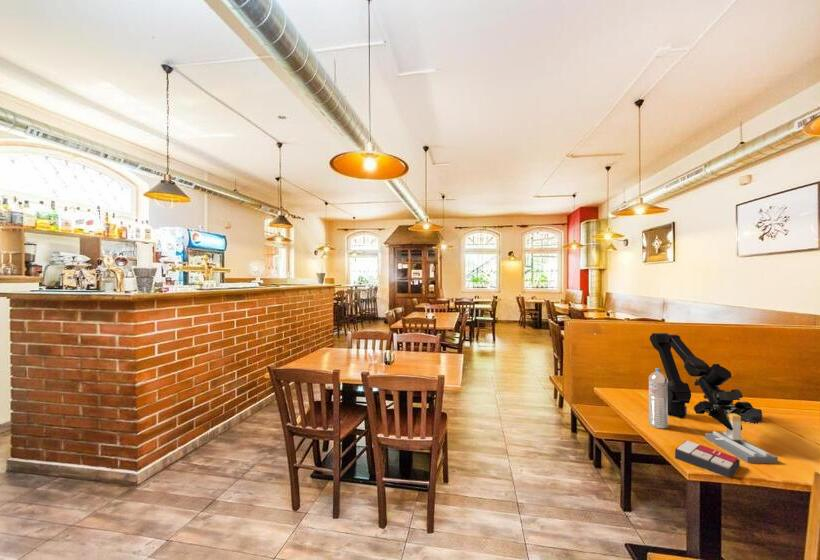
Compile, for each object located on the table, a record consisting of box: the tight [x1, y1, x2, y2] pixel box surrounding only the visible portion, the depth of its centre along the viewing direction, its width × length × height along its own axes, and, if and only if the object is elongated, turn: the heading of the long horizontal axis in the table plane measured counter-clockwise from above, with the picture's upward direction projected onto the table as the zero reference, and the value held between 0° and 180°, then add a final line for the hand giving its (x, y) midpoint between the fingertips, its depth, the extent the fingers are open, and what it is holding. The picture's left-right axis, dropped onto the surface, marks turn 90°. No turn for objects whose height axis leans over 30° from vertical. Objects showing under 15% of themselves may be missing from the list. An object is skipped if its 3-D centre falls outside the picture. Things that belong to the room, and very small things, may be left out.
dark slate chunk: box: [701, 399, 763, 425], centre depth 161 cm, size 15×22×5 cm
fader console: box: [704, 430, 779, 464], centre depth 127 cm, size 18×10×3 cm, turn 177°
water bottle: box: [648, 367, 669, 430], centre depth 148 cm, size 7×7×25 cm
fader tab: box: [726, 413, 742, 443], centre depth 130 cm, size 3×3×10 cm
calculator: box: [674, 440, 741, 478], centre depth 119 cm, size 11×4×15 cm
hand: (736, 429), depth 128 cm, fingers closed on fader tab, 3 cm apart
